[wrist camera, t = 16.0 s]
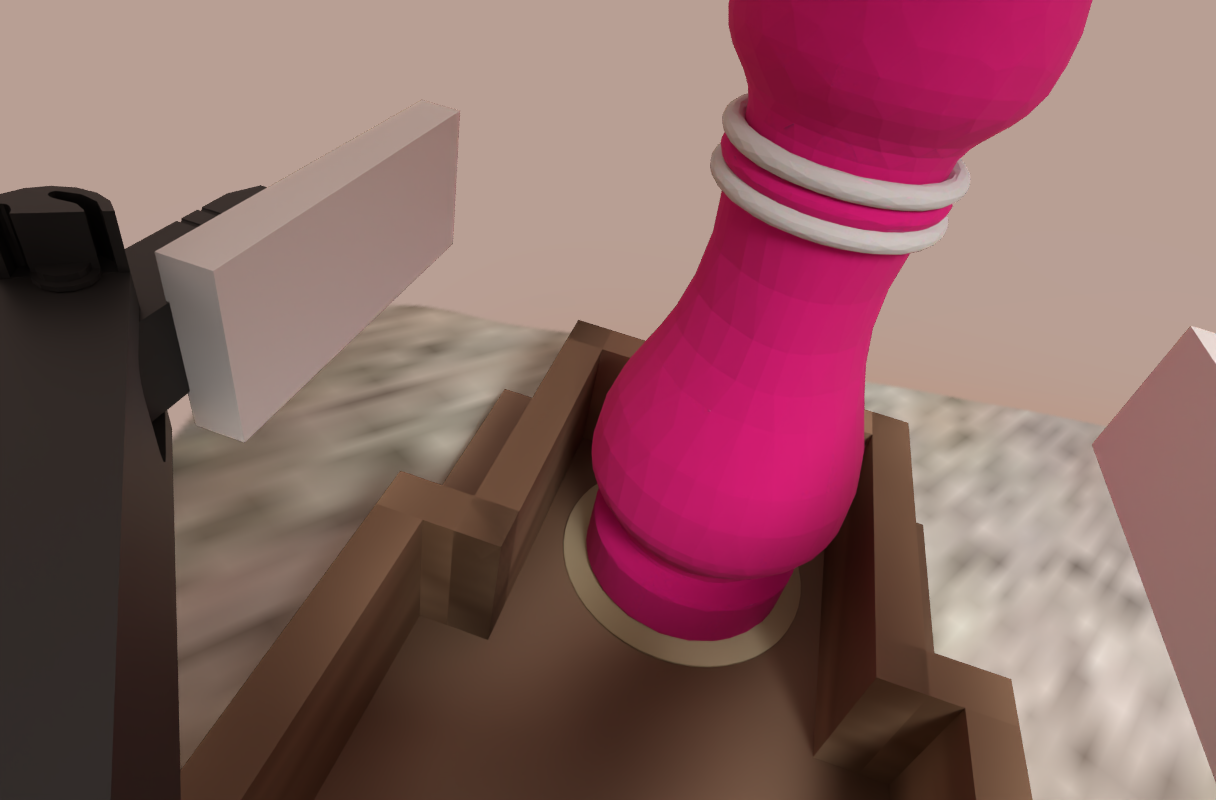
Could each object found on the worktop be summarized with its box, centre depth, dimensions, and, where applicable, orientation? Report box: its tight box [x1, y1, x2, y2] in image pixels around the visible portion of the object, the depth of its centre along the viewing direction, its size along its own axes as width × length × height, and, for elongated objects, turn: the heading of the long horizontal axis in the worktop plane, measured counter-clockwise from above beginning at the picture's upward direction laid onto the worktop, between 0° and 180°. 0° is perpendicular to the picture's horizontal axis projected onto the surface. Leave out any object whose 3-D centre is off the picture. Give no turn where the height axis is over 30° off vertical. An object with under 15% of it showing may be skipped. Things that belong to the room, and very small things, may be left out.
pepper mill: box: [586, 0, 1092, 641], centre depth 17 cm, size 7×7×20 cm
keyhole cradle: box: [180, 320, 1032, 800], centre depth 17 cm, size 16×24×5 cm, turn 164°
